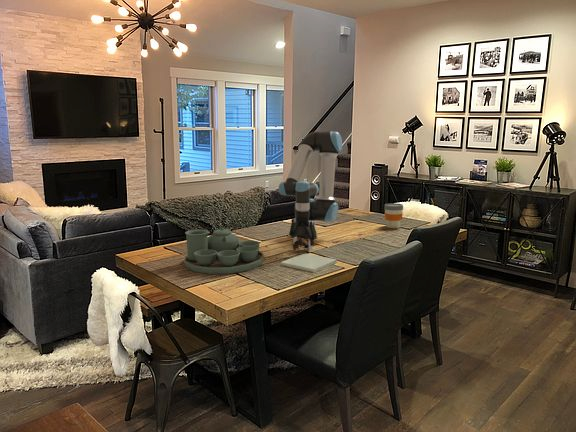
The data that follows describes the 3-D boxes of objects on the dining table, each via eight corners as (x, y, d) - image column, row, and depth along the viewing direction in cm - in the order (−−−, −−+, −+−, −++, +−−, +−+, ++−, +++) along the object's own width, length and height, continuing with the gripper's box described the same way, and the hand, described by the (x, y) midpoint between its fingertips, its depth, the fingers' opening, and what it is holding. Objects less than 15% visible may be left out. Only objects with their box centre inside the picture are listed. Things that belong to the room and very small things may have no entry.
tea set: (207, 280, 208) (205, 245, 205) (172, 260, 240) (170, 229, 237) (279, 264, 231) (279, 232, 228) (238, 248, 263) (238, 220, 260)
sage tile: (281, 265, 230) (281, 262, 229) (304, 256, 245) (304, 253, 245) (314, 272, 217) (314, 269, 217) (336, 262, 233) (336, 259, 233)
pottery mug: (308, 255, 248) (300, 242, 247) (295, 260, 254) (287, 248, 252) (316, 244, 258) (309, 232, 257) (303, 250, 263) (296, 238, 262)
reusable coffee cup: (405, 225, 316) (406, 204, 313) (399, 229, 305) (399, 206, 303) (387, 224, 322) (388, 202, 320) (380, 227, 312) (381, 205, 309)
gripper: (282, 209, 255) (282, 248, 259) (315, 213, 241) (315, 254, 245) (290, 207, 261) (290, 245, 265) (323, 211, 247) (323, 251, 251)
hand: (302, 250), depth 255 cm, fingers closed on pottery mug, 10 cm apart
